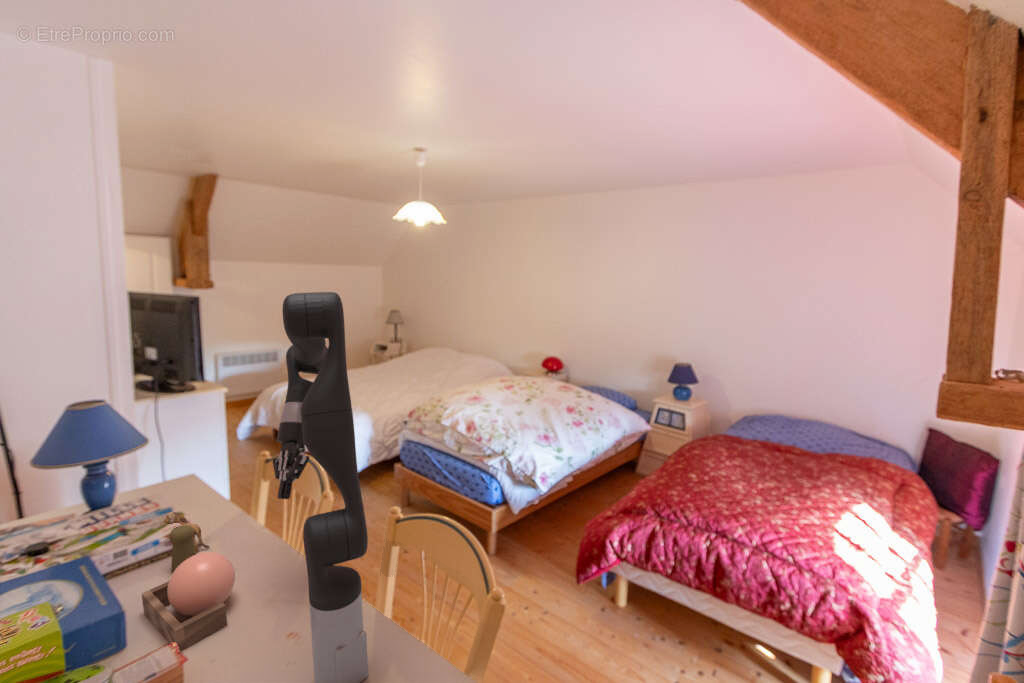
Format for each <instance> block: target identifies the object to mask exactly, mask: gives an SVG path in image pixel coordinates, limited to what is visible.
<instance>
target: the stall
mask: <svg viewBox="0 0 1024 683" xmlns="http://www.w3.org/2000/svg"><path fill="white" fill-rule="evenodd" d="M168 583H169V580H168V581H167V582H164V583H161V584H159V585H157V586H155V587H153V588H150V589H149V590H146V591H144V592H142V593H141V598H142V599H141V601H142V607H143V608H142V609H143V614H144V615H145V616H146V618H147V619H148V620H149V621H150V623H151V624H153V626H154V627H155V628H156V629H157V631H158V632H159V633H160V634H161V635H162V636H163V638H164V639H165V640H166V641H167V642H168V643H169V644H170V643H171V642H176V643H177V645H178V647H179V650H180V651H181V652H182V651H184V650H186V649H188V648H189V646H190V647H191V646H194V644H196V643H198V642H200V641H202V640H204V639H206V638H207V636H208V637H209V636H211V635H213V634H215V633H216V632H218V631H219V630H222V629H224V628H225V626H226V627H227V626H228V620H227V609H226V604H225V603H224V602H221V603H219V604H217V605H216V606H214V607H212V608H210V609H208V610H206V611H204V612H202V613H200V614H198V615H196V616H191V618H189V619H186V620H184V621H183V622H180V621H179V620H178V619H177V618H176V617H175V616H174V615H173V613H171V611H170V610H169V609H167V607H169V606H171V604H170V602H169V599H168V595H167V588H168Z"/></svg>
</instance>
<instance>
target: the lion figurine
mask: <svg viewBox="0 0 1024 683" xmlns="http://www.w3.org/2000/svg"><path fill="white" fill-rule="evenodd" d="M173 523H180V524H182V525H189V526H191V527H192V528H193V532H194V534H193V536H192V541H193V544H194V548H195V551H196V553H199V551H200V547H199V546H202V547H203V548H205V549H210V546H209V545H207V544H205V543H204V542H203V539H202V529H201V527H200V526H199V524H197V523H192V522H189V521H188V520H187V518H186V516H184V515H182V514H181V513H178V512H174V511H171V512H168V513H166V514H165V518H164V519H163V520H162V522H161V523H160V524H159V525H160V526H161V525H164V524H173ZM195 537H197V539H198V542H196V538H195Z"/></svg>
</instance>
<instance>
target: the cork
mask: <svg viewBox="0 0 1024 683" xmlns="http://www.w3.org/2000/svg"><path fill="white" fill-rule="evenodd" d="M193 534H194V532H193V528H192V527H191V526H189V525H182V526H179V527H176V528H174V529H173V530H172V531H171V530H170V532H169V536H168V539H169V541H170V543H172V547H171V548H172V549H171V552H172V553H171V554H172V555H171V570H170V571H171V573H172V574H173V572H174V571H175V570H176V568H177V567H178V566H179V565H180V564H181V563H182V562H183V561H185V560H186V559H188V558H190V557H191V556H193V555H196V554H197V552H196V551H195V547H194V544H193V541H192V536H193Z"/></svg>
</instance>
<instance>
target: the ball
mask: <svg viewBox="0 0 1024 683" xmlns="http://www.w3.org/2000/svg"><path fill="white" fill-rule="evenodd" d="M235 570H236V569H235V567H234V565H233V562H232V561H231V560H230V559H229V558H228V557H226V556H225V555H224V554H221V553H218V552H216V551H215V552H214V551H203V552H198V553H196V555H193V556H191V557H190V558H188V559H186V560H185V561H183V562H182V563H181V564H180V565H179V566H178V567H177V568H176V570H175V571H174V572H173V573H172V574H171V575H170V578H169V580H168V581H169V583H168V588H167V595H168V599H169V602H170V604H171V605H170V606H171V607H172V608H173V609H174V610H175V611H176V612H178V613H180V614H182V615H184V616H190V617H194V616H196V615H198V614H200V613H202V612H204V611H206V610H208V609H210V608H212V607H214V606H216V605H217V604H219V603H221V602H223V603H224V602H225V601H226V600H227V599H228V597H230V595H231V593H232V591H233V588H234V587H235V586H234V585H235V582H236V571H235Z"/></svg>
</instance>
